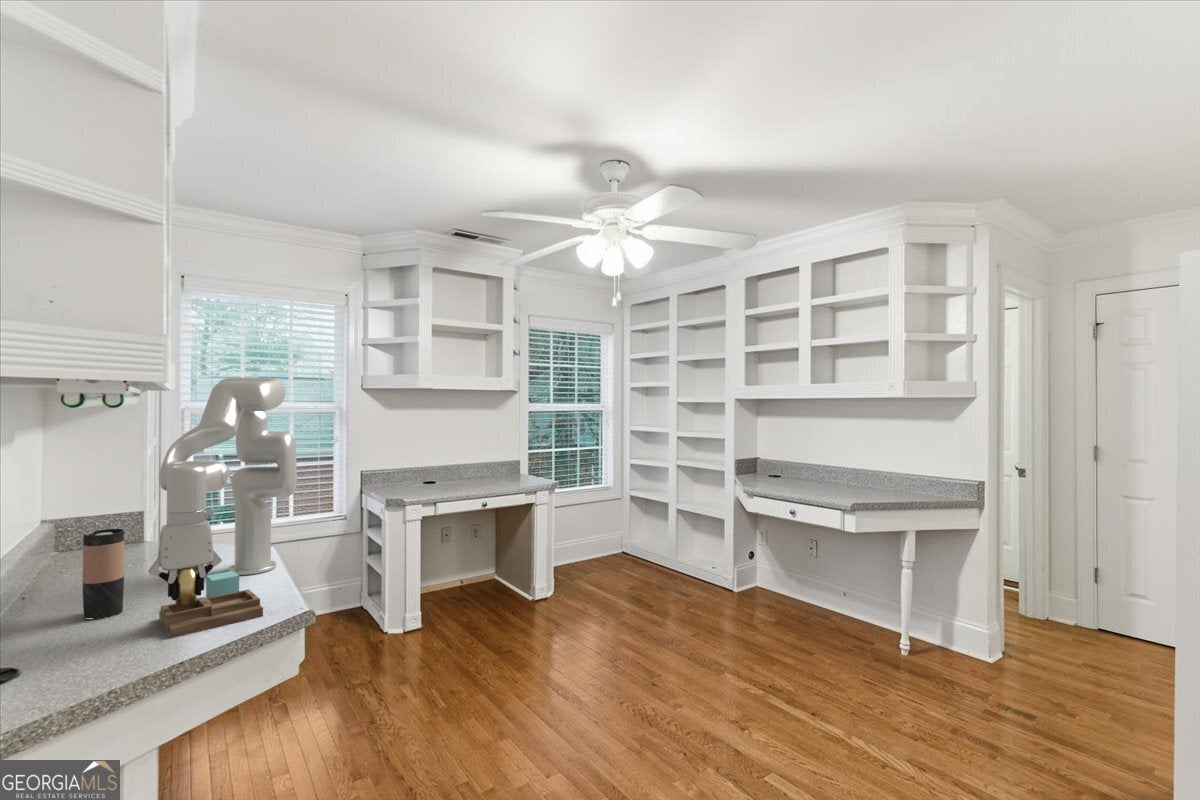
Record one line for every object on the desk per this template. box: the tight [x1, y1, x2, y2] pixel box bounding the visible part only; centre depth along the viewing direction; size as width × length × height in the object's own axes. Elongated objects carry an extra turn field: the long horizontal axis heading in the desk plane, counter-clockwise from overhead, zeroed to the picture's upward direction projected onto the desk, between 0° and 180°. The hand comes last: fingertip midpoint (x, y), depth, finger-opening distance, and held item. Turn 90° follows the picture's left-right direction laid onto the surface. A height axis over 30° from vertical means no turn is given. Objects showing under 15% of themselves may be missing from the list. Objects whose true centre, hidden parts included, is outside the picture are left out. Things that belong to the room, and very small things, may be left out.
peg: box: [174, 566, 198, 605], centre depth 132 cm, size 4×4×8 cm
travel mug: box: [82, 528, 125, 620], centre depth 138 cm, size 8×8×20 cm
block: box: [205, 570, 240, 598], centre depth 150 cm, size 6×6×6 cm
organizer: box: [158, 589, 264, 638], centre depth 136 cm, size 15×18×4 cm
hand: (186, 595), depth 132 cm, fingers closed on peg, 4 cm apart
